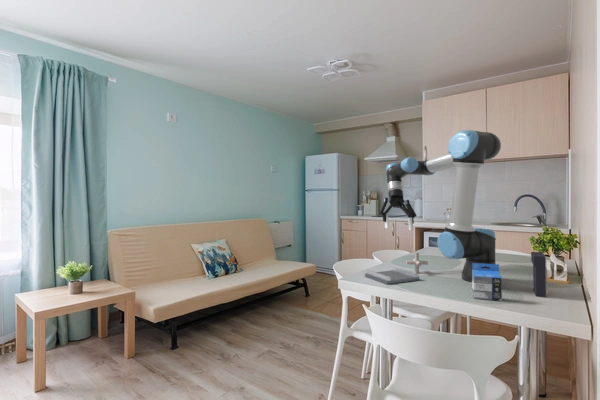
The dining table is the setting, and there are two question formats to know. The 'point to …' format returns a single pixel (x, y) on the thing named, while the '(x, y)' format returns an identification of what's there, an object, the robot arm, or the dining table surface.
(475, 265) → the ink cartridge box
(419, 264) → the pipe connector
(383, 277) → the plate
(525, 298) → the dining table surface
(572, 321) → the dining table surface
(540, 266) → the calculator
